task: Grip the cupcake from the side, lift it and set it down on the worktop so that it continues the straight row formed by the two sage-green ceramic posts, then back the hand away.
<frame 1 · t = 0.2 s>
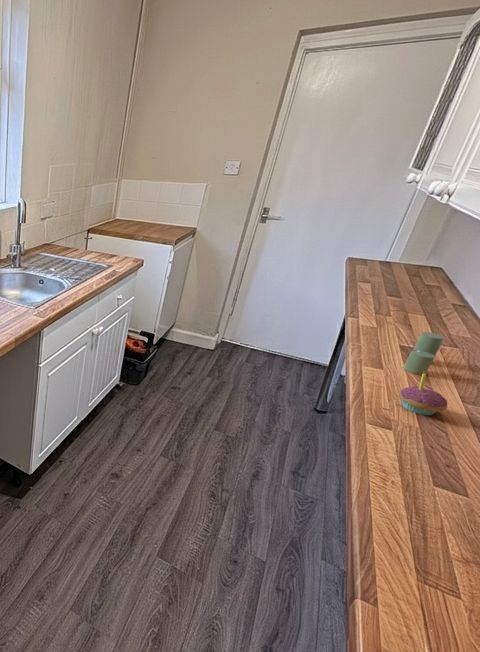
cupcake: (414, 414, 106), on the worktop
far post: (420, 360, 133), on the worktop
near post: (414, 370, 127), on the worktop
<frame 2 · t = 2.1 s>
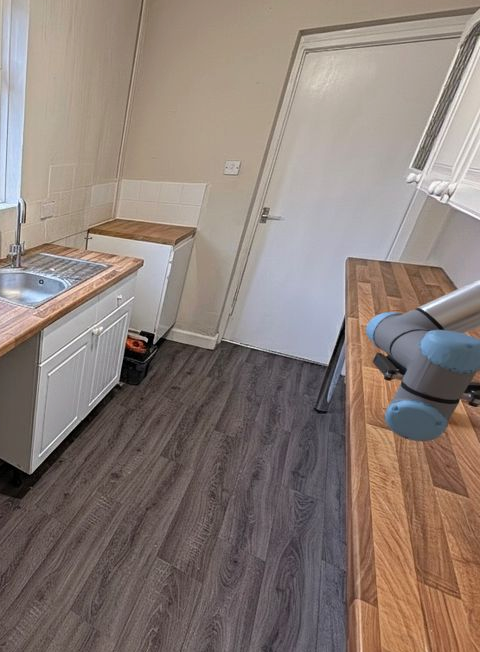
hand: (441, 364, 94), 18 cm above the worktop, tool horizontal, fingers open, 13 cm apart
nothing on the worktop moved.
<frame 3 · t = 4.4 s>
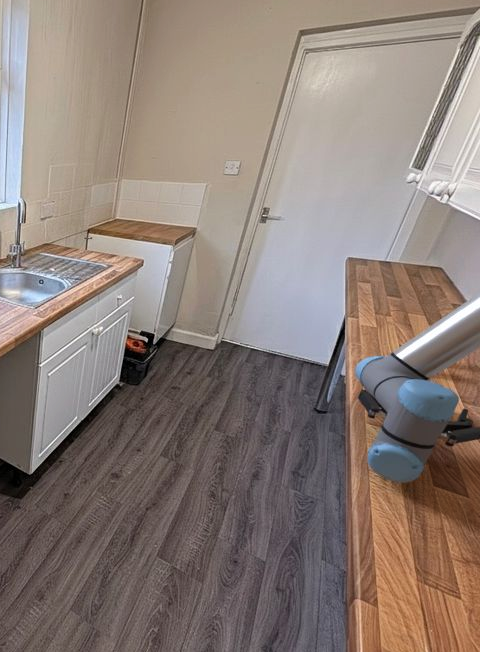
hand: (421, 400, 100), 7 cm above the worktop, tool horizontal, fingers open, 13 cm apart
nothing on the worktop moved.
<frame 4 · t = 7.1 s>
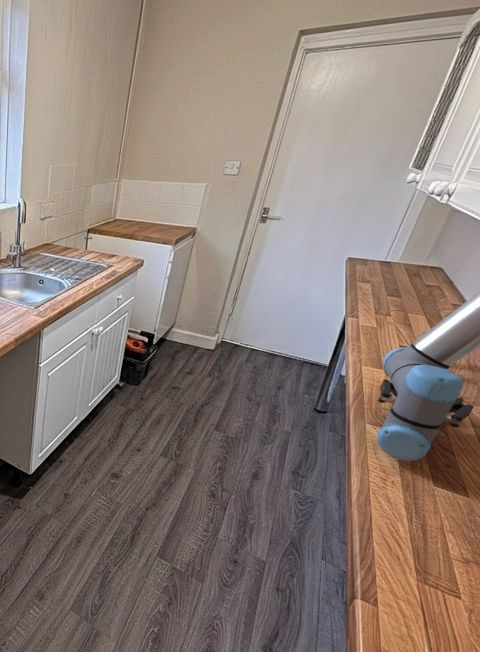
hand: (428, 386, 106), 6 cm above the worktop, tool horizontal, fingers closed on cupcake, 8 cm apart
cupcake: (414, 414, 106), on the worktop, touching gripper
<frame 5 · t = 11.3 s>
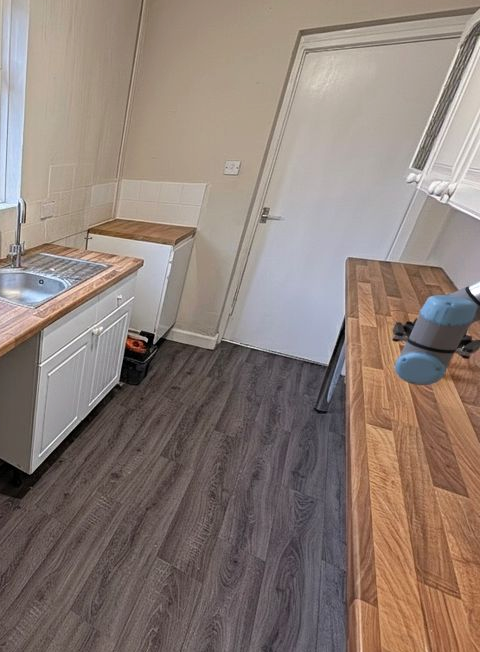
hand: (438, 328, 112), 18 cm above the worktop, tool horizontal, fingers closed on cupcake, 8 cm apart
cupcake: (425, 354, 112), point 11 cm above the worktop, touching gripper
when the fingers open (6 cm above the worktop, at t = 15.6 s): cupcake stays where it is, on the worktop.
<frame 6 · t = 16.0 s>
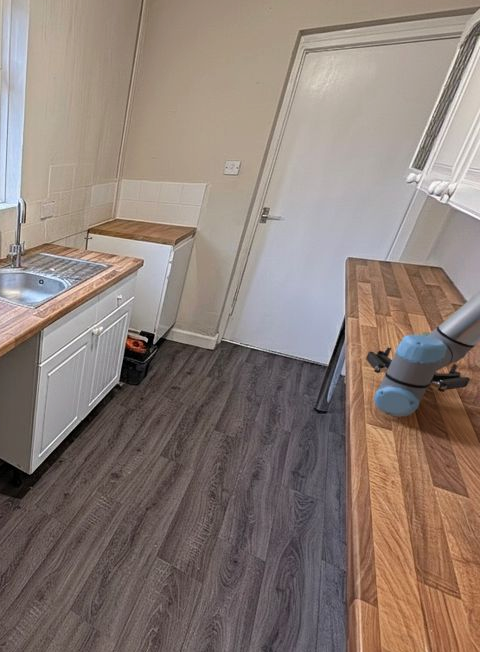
hand: (419, 360, 120), 6 cm above the worktop, tool horizontal, fingers open, 13 cm apart
cupcake: (407, 382, 121), on the worktop
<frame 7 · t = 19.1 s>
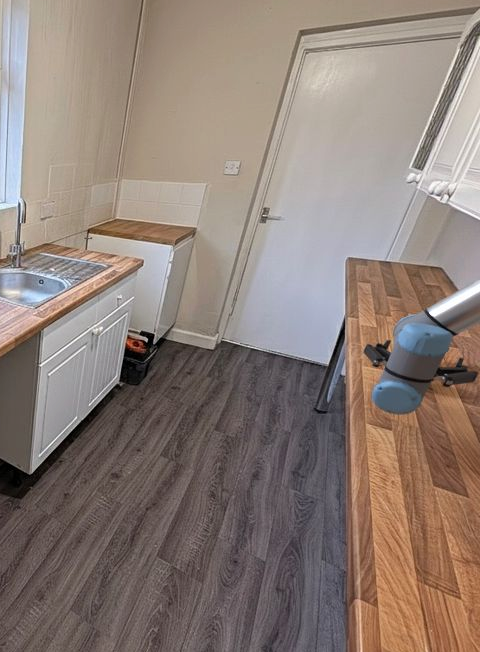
hand: (421, 353, 110), 13 cm above the worktop, tool horizontal, fingers open, 13 cm apart
nothing on the worktop moved.
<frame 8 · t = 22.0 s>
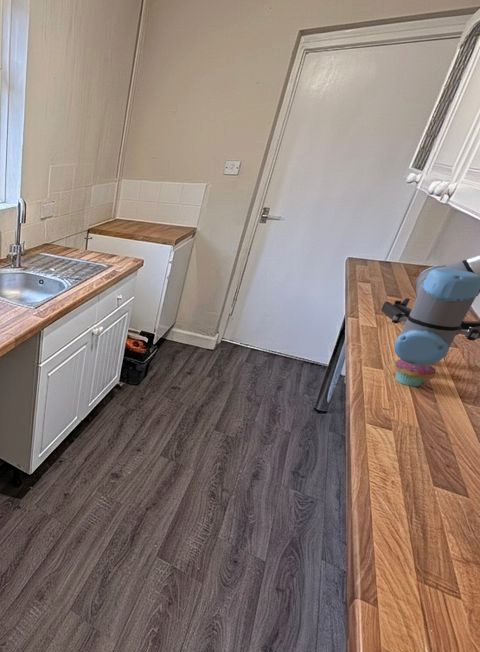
hand: (442, 310, 105), 25 cm above the worktop, tool horizontal, fingers open, 13 cm apart
nothing on the worktop moved.
at the end: cupcake 0.3 cm from the target spot on the worktop beside the near post, on the worktop; cupcake tilted 0°; the gripper is holding nothing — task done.
